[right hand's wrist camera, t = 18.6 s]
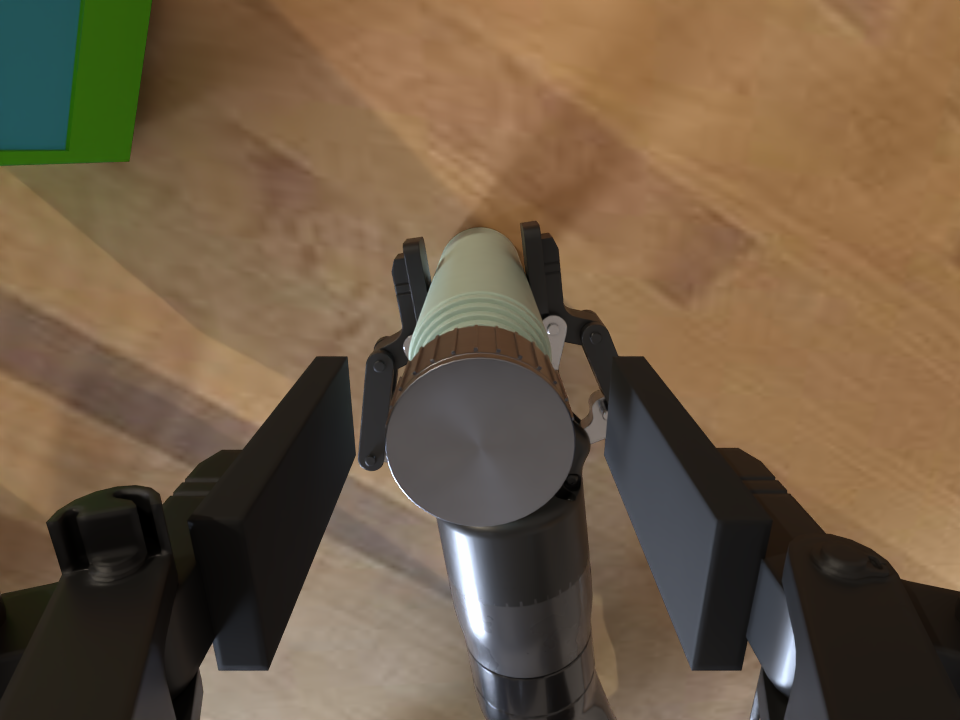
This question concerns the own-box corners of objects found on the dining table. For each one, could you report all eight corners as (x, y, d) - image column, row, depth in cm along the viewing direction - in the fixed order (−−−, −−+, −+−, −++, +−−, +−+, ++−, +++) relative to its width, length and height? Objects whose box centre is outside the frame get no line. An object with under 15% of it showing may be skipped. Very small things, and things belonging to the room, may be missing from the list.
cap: (390, 466, 15) (375, 518, 13) (403, 312, 14) (389, 342, 12) (547, 484, 15) (559, 539, 13) (577, 334, 14) (595, 368, 12)
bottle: (520, 305, 32) (573, 513, 14) (441, 307, 32) (390, 517, 14) (520, 226, 30) (580, 340, 12) (438, 227, 30) (375, 344, 12)
